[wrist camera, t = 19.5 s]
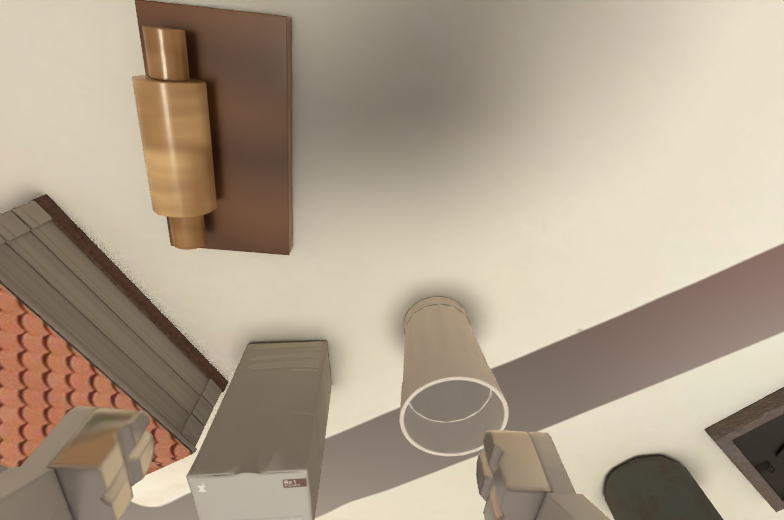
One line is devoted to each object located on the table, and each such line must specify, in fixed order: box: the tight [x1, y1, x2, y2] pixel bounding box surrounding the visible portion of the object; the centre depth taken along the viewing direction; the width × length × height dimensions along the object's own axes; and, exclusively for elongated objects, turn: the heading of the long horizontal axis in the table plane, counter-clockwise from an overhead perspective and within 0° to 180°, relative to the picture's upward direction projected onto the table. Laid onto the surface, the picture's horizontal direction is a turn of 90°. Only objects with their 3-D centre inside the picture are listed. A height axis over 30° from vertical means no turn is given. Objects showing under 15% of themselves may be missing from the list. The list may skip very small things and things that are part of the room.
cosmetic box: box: [187, 341, 331, 520], centre depth 36 cm, size 8×7×16 cm
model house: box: [0, 195, 228, 475], centre depth 35 cm, size 24×16×15 cm, turn 29°
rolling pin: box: [132, 26, 217, 249], centre depth 30 cm, size 15×4×4 cm
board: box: [135, 0, 292, 255], centre depth 33 cm, size 18×10×2 cm, turn 174°
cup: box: [400, 297, 509, 456], centre depth 36 cm, size 8×8×12 cm
